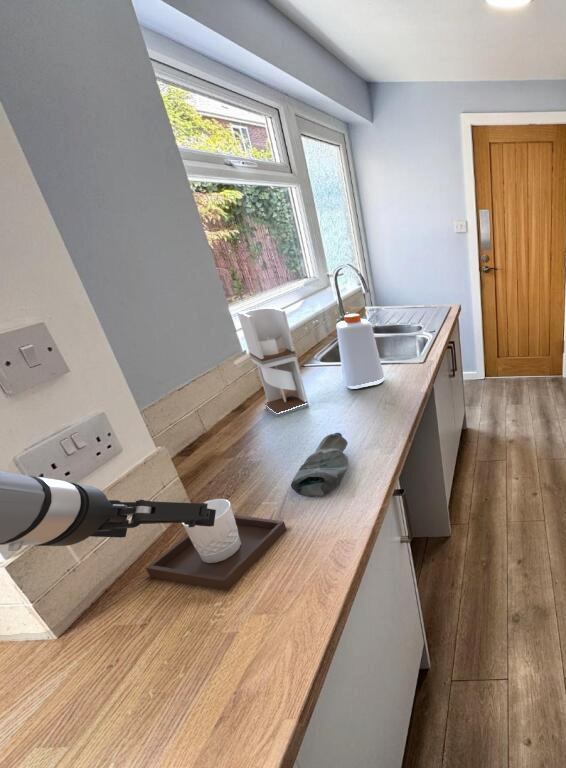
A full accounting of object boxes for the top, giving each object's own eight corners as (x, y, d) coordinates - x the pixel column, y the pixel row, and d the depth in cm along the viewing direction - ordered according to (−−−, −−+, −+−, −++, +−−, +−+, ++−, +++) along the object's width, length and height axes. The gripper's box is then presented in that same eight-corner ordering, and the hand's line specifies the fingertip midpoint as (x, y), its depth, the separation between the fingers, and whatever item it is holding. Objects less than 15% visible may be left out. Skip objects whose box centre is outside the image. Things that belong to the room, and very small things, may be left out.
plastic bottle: (347, 392, 156) (333, 322, 145) (342, 380, 169) (328, 314, 158) (387, 384, 163) (376, 316, 152) (379, 373, 175) (368, 309, 164)
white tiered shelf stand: (265, 407, 146) (237, 312, 132) (296, 398, 153) (272, 306, 140) (277, 416, 139) (248, 317, 125) (308, 406, 146) (284, 310, 132)
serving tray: (150, 577, 77) (145, 567, 76) (219, 521, 91) (215, 512, 90) (227, 590, 74) (223, 581, 73) (286, 530, 88) (284, 521, 87)
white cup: (206, 541, 85) (190, 503, 81) (249, 532, 87) (235, 495, 83) (191, 570, 78) (173, 530, 74) (238, 560, 80) (222, 520, 76)
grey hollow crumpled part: (341, 498, 97) (365, 442, 120) (333, 474, 94) (358, 421, 117) (286, 506, 97) (320, 449, 119) (276, 483, 94) (313, 428, 116)
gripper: (-85, 560, 46) (80, 557, 66) (156, 531, 50) (245, 536, 69) (-59, 494, 49) (92, 510, 69) (167, 470, 52) (250, 492, 72)
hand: (169, 523), depth 69 cm, fingers open, 13 cm apart
